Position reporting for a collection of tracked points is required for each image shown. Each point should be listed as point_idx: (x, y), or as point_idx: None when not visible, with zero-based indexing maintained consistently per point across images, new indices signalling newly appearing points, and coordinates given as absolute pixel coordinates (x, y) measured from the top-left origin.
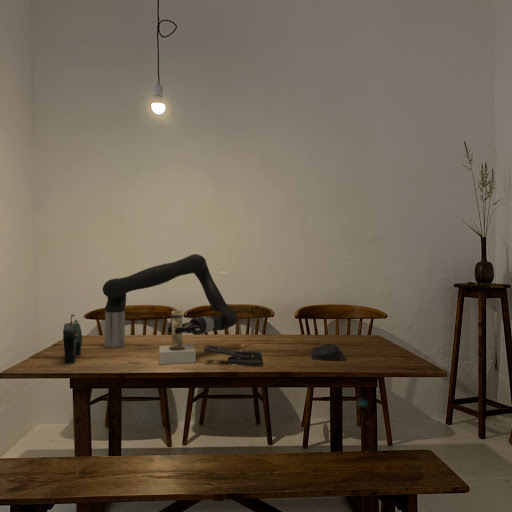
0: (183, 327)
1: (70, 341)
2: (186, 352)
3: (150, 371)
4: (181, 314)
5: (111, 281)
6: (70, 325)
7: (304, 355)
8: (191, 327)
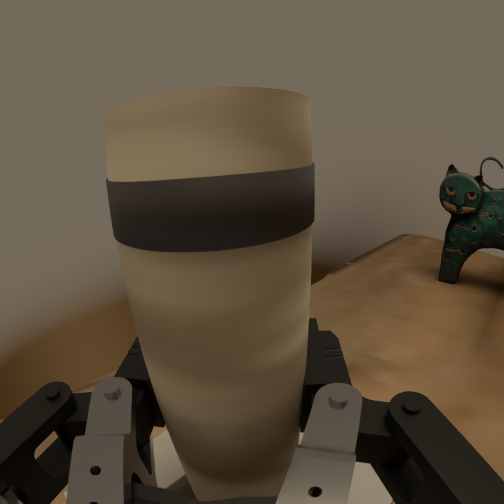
0: (116, 377)
1: (449, 221)
2: None
3: None
4: (108, 171)
5: None
6: (447, 174)
7: None
8: (14, 412)
